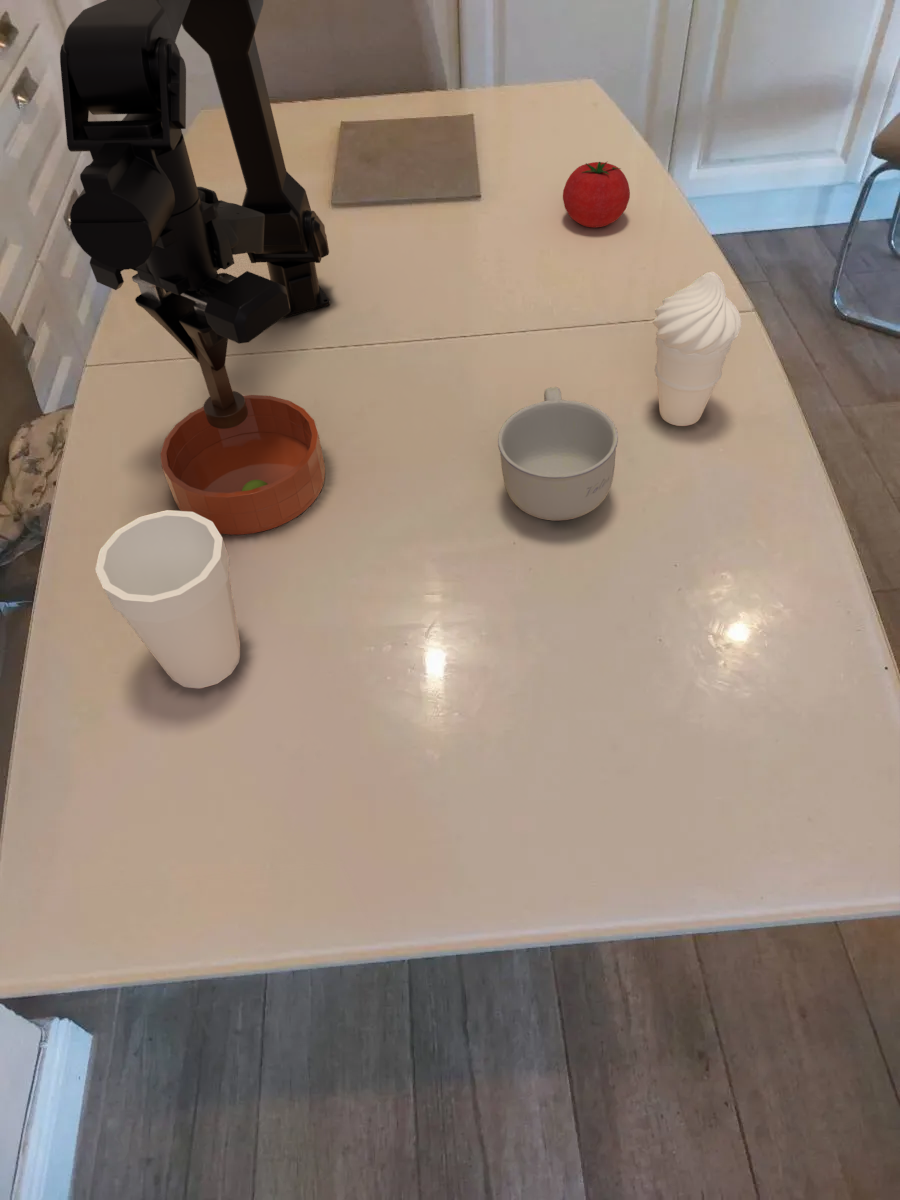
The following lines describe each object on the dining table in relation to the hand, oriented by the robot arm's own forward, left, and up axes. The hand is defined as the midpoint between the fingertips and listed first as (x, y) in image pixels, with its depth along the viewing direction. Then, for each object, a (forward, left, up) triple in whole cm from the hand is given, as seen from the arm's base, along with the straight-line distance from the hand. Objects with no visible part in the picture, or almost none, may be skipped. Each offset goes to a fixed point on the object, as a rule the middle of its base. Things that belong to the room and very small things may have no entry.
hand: (212, 364), depth 84 cm
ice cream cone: (+13, +44, -13) cm, 48 cm away
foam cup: (+22, -10, -13) cm, 28 cm away
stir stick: (0, 0, -6) cm, 6 cm away
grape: (+7, 0, -11) cm, 13 cm away
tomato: (-27, +57, -13) cm, 64 cm away
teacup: (+17, +27, -13) cm, 35 cm away
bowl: (+2, 0, -13) cm, 13 cm away
